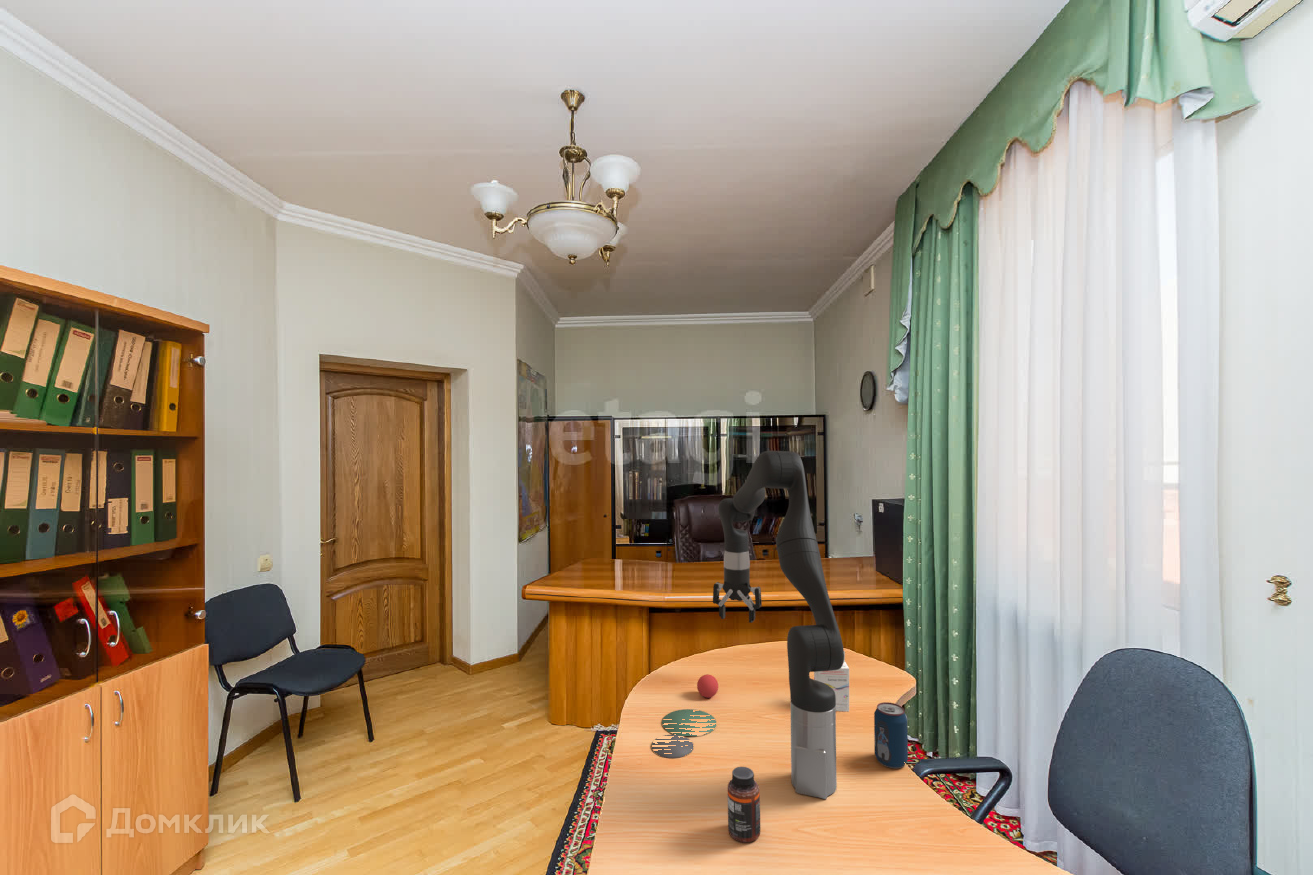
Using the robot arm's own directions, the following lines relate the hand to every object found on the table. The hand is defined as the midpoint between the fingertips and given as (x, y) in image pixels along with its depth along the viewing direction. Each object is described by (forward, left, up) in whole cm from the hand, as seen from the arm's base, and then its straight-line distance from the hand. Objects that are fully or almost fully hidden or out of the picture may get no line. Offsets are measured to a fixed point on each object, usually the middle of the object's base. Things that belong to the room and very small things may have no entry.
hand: (737, 620), depth 171 cm
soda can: (-27, -42, -19) cm, 54 cm away
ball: (-11, +6, -16) cm, 20 cm away
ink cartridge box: (-5, -27, -19) cm, 34 cm away
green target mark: (-27, +6, -19) cm, 34 cm away
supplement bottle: (-62, -17, -19) cm, 67 cm away
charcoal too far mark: (-39, +6, -19) cm, 44 cm away
